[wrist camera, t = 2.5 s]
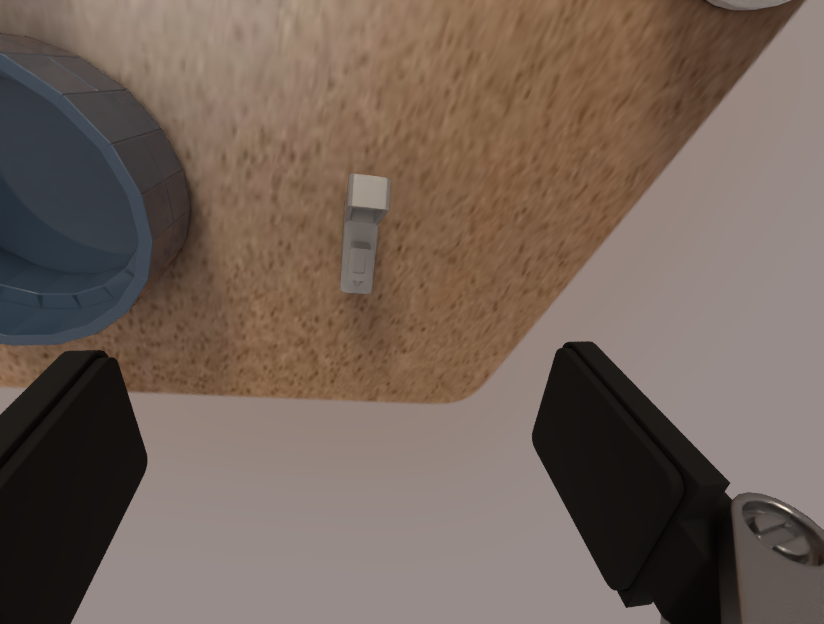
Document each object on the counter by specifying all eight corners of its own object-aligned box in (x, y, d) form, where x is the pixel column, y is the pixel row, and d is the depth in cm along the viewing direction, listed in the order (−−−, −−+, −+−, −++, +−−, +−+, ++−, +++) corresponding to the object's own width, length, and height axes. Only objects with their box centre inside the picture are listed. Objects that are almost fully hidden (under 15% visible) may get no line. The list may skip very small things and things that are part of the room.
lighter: (367, 264, 27) (375, 328, 20) (340, 262, 27) (339, 326, 20) (378, 150, 24) (392, 181, 17) (348, 146, 24) (350, 176, 17)
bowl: (165, 48, 20) (104, 40, 15) (210, 291, 27) (177, 343, 21) (-161, 20, 18) (-362, -1, 13) (-27, 290, 25) (-126, 348, 19)
